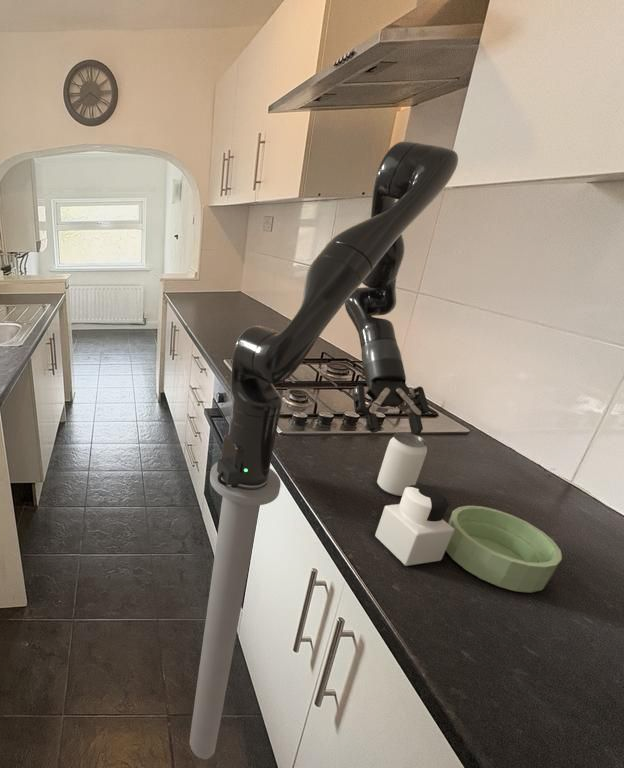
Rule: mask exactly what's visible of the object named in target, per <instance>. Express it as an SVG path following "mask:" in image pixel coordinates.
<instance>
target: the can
mask: <svg viewBox="0 0 624 768" xmlns="http://www.w3.org/2000/svg"><path fill="white" fill-rule="evenodd" d="M427 445H428V442H427V441H426V440H425V438H423V437H421V436H419V435H418V434H417V435H414V434H412V433H411V432H410V433H409V432H405V431H404V432H401V431H400V432H395V433H394V434H393V436H392V437H391V438H390V439H389V442H388V444H387V447H386V450H385V453H384V457H383V460H382V463H381V466H380V468H379V469H380V470H379V472H378V475H377V480H376V484H377V485H378V487H379V488H380V489H381V490H382V491H384V492H386V493H387V494H389V495H392V496H396V497H402V496H403V493H404V490H405V488H406V487H408V486H410V485H417V481H418V479H419V477H420V473H421V471H422V467H423V465H424V462H425V459H426V456H427V454H428V453H427V452H428V448H427Z"/></svg>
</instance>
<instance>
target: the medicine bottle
mask: <svg viewBox="0 0 624 768" xmlns="http://www.w3.org/2000/svg"><path fill="white" fill-rule="evenodd" d="M449 506H450V502H449V500H448V499H447V497H446V496H445V495H444V494H443V493H442V492H440V491H439V490H437V489H434V488H432V487H429V486H427V485H421V484H415V485H410V486H408V487H406V488H405V490H404V493H403V496H401V498H400V502H399V503H398V504H397V503H396V504H388V505H384V507H383V511H382V514H381V516H380V519H379V522H378V525H377V528H376V531H375V534H374V536H375V538H376V539H377V540H378V541H380V543H381V544H383V546H384V547H385V548H387V550H388V551H390V552H391V553H392V554H393V556H394V557H396V559H398V560H399V561H400V562H401V563H402V564H403V565H404V566H406V567H409V566H415V565H420V564H421V565H422V564H428V563H434V562H440V561H442V560H443V558H444V555H445V553H446V548H447V546H448V544H449V541H450V539H451V537H452V535H453V532H454V528H453V527H452V526H450V525H449V524H448V522H447V521H445V520H444V518H445V515H446V513H447V511H448V509H449Z"/></svg>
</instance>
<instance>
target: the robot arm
mask: <svg viewBox="0 0 624 768" xmlns="http://www.w3.org/2000/svg"><path fill="white" fill-rule="evenodd" d="M458 164H459V156H458V153H457V152H456V151H455V150H453V149H450V148H448V147H444V146H438V145H432V144H427V143H421V142H420V143H419V142H413V141H399V142H397V143H395V144H394V145H392V146H391V147H390V148H389V149H388V150H387V152H386V153H385V154H384V156H383V157H382V159H381V161H380V163H379V164H378V167H377V170H376V173H375V176H374V181H373V185H372V186H373V187H372V195H371V196H372V197H371V209H370V210H371V211H370V217H369V218H368V219H365V220H363V221H361V222H359V223H356V224H354V225H353V226H350V227H349V228H348V227H347V228H346V229H345V230H343V231H341V232H340V233H338V234H336V235H335V236H334V237H332V238H331V240H330V241H328V242H327V244H326V245H325V246H324V248H323V249H322V250H321V251H320V252H319V254H318V255H317V256H316V257H315V258H314V259H313V261H312V262H311V264H310V265H309V268H308V269H307V272H306V275H305V280H304V286H303V293H302V300H301V303H300V307H299V309H298V310H297V312H296V314H295V315H294V316H293V318H292V319H291V320H290V322H289V323H288V324H287V325H286V327H285V328H284V329H283V330H282V331H281V332H280V331H277V330H274V329H272V328H270V327H266V326H263V325H253V326H249V327H247V328H245V330H243V331H242V332H241V334H240V335H239V336H238V338H237V340H236V342H235V345H234V347H233V348H234V349H233V352H232V362H231V375H230V392H231V396H232V405H231V411H230V412H231V413H230V421H229V427H228V434H224V436H223V442H222V450H221V458H219V459H217V462H218V465H217V472H218V473H219V475H218V482H219V483H220V484H222V485H224V486H227V485H230V486H231V487H232V488H241V489H245V490H257V489H261V488H263V487H265V486H266V485H267V482H268V475H269V469H271V463H272V459H273V458H272V457H273V452H274V447H275V442H276V437H277V430H278V426H279V421H280V415H281V410H282V404H283V398H282V395H281V393H280V392H279V391H278V390H277V389H276V387H275V384H279V383H280V384H281V383H282V382H284V381H286V380H288V379H289V378H290V377H291V376H292V375H293V374H294V373H296V370H298V368H299V367H300V366H301V364H302V363H303V361H304V360H305V358H306V357H307V356H308V354H309V353H310V351H311V350H312V348H313V347H314V346H315V344H316V342H317V341H318V339H319V337H320V336H321V334H322V333H323V331H324V330H325V329H326V327H327V326H328V325H329V323H331V321H332V319H333V318H334V317H335V316H336V315H337V313H338V312H339V311H340V309H341V308H342V307H343V305H344V308H345V311H346V313H347V315H348V318H349V319H350V320H351V322H352V324H353V326H354V327H355V330H356V332H357V334H358V338H359V344H360V348H361V364H362V368H363V373H364V379H365V384H366V385H367V386H364V385H363V384H358V385H356V386H355V387H354V388H353V389H352V396H353V397H352V398H353V407H354V412H355V413H356V414H361V415H363V416H364V417H365V422H366V428H367V430H368V431H369V432H370V433H373V434H376V433H378V432H379V431H380V426H379V422H378V416H377V413H376V412H377V410H378V409H379V407H380V408H385V407H386V408H387V407H388V408H389V407H390V408H398V409H399V410H400V411H401V412H404V413H405V414H406V415H407V416H408V418H407V419H408V424H409V428H410V429H409V430H410V434H414V435H417V436H418V435H419V434H421V433H422V431H423V430H424V427H423V423H422V418H421V417H422V415H425V414H429V412H430V407H429V404H428V400H427V397H426V394H425V390H424V388H423V386H420V385H419V386H417V387H411V388H410V387H408V385H407V383H406V381H407V377H406V372H405V367H404V362H403V358H402V353H401V350H400V348H399V345H398V341H397V335H396V332H395V328H394V324H393V323H392V321H391V320H389V319H386V318H379V317H376V316H385V315H388V314H390V313H391V312H393V311H394V309H395V308H396V306H397V289H396V287H397V278H398V274H399V271H400V268H401V265H402V262H403V260H404V257H405V242H404V237H403V233H405V231H406V230H407V229H408V228H409V227H410V225H411V224H412V223H414V221H415V220H416V219H417V218H418V217H419V216H420V215H421V214H422V213H423V212H424V211H425V210H426V209H427V207H429V206H430V205H431V204H432V202H433V201H435V200H436V198H437V197H438V196H439V195H440V194H441V192H442V191H443V190H444V189H445V187H446V186H447V185H448V184H449V182H450V181H451V179H452V177H453V175H454V174H455V172H456V169H457V167H458ZM396 200H397V201H396ZM361 285H364V286H365V287H364V286H363V287H360V286H361ZM366 395H368V396H369V398H371V400H370V401H369V403H368V405H367V403H366ZM221 477H222V479H223V480H224V481H225V482H224V481H222V480H221Z"/></svg>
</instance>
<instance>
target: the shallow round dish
mask: <svg viewBox="0 0 624 768" xmlns="http://www.w3.org/2000/svg"><path fill="white" fill-rule="evenodd" d="M447 523H448V524H449V525H450V526H452V527H453V528H454V532H453V535H452V537H451V539H450V541H449V544H448V546H447V548H446V551H445V553H446V554H448V556H449V557H450V558H451V559H452V560H453V561H454V563H456V564H457V565H459V566H460V567H462V568H463V569H464V570H465V571H467V572H468V573H470V574H472V575H474V576H475V577H477V578H478V579H480V580H482V581H485V582H486V583H489V584H492V585H494V586H496V587H499V588H501V589H502V588H503V589H505V590H509V591H513V592H519V593H530V594H531V593H535V592H540V591H543V590H544V589H545V587H546V586H547V585H548V583H549V582H550V581H551V579H552V577H553V576H554V573H555V571H556V570H557V569H558V567H559V565H560V564H561V562H562V560H563V555H562V550H561V549H560V548H559V546H558V545H557V543H556V542H555V540H554V539H552V538H551V537H550V536H549V535H547V533H545V532H544V531H542V530H541V529H539V528H538V527H536V526H534V525H533V524H531V523H530V522H528V521H526V520H524V519H521V518H520V517H517V516H515V515H514V514H511V513H507V512H505V511H503V510H502V511H501V510H500V509H495V508H491V507H486V506H483V505H463V506H458V507H456V508H455V509H454V510H452V512H451V514H450V515H449V519H448V521H447Z"/></svg>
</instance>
